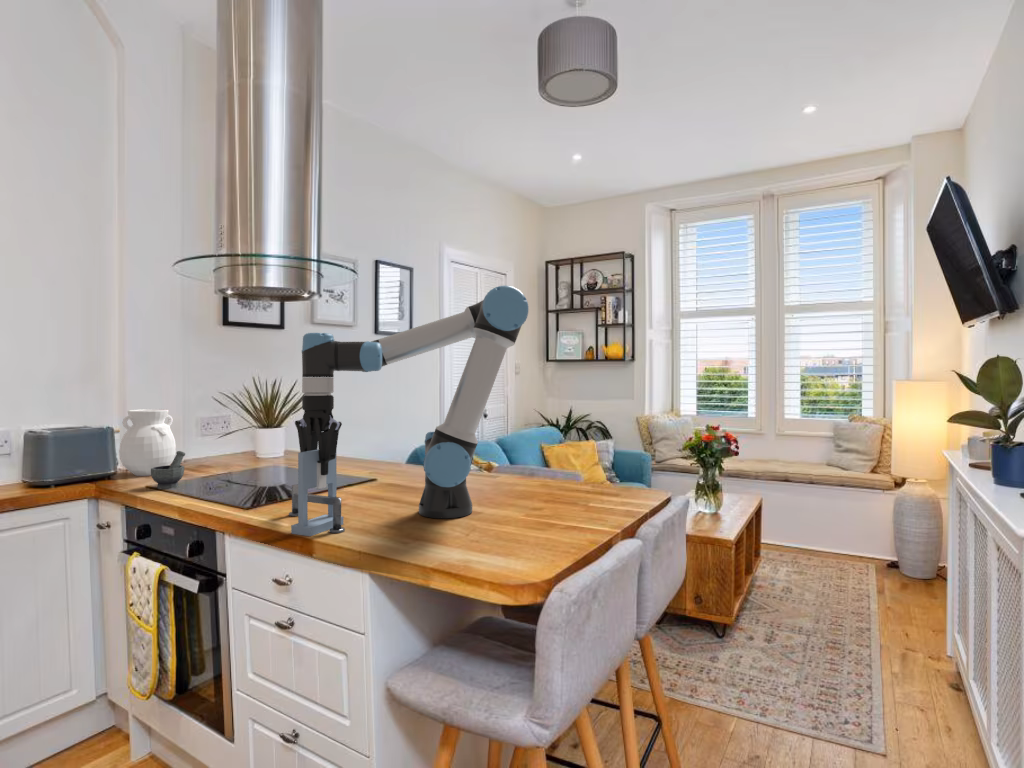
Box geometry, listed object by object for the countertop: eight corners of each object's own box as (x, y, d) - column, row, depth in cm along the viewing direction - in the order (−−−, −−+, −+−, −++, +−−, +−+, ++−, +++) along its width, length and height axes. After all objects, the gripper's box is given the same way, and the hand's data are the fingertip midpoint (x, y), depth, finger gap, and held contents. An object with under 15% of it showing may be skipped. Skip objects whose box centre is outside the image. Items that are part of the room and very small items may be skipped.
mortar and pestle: (164, 491, 188) (163, 455, 187) (144, 488, 191) (144, 453, 191) (194, 485, 198) (193, 451, 198) (175, 483, 201) (174, 449, 201)
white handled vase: (163, 468, 232) (163, 407, 232) (184, 473, 222) (184, 409, 221) (111, 474, 217) (110, 410, 217) (131, 480, 207) (131, 412, 206)
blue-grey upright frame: (343, 524, 147) (343, 447, 147) (310, 536, 136) (310, 453, 136) (325, 521, 149) (325, 446, 149) (291, 533, 138) (291, 452, 138)
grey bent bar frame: (347, 531, 140) (347, 497, 140) (318, 537, 135) (318, 502, 135) (299, 512, 159) (299, 482, 159) (272, 517, 154) (272, 486, 154)
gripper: (351, 394, 143) (351, 487, 143) (306, 393, 148) (306, 482, 149) (330, 395, 136) (330, 492, 136) (284, 394, 141) (284, 487, 142)
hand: (318, 487), depth 142 cm, fingers closed on blue-grey upright frame, 1 cm apart
